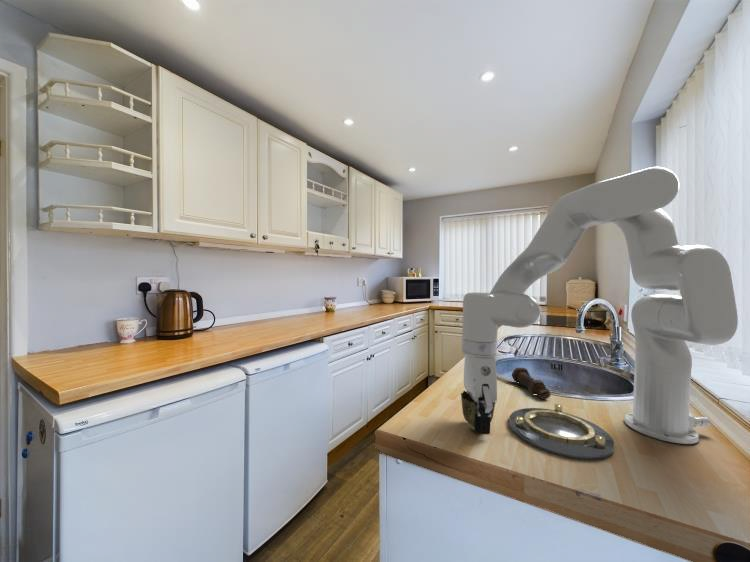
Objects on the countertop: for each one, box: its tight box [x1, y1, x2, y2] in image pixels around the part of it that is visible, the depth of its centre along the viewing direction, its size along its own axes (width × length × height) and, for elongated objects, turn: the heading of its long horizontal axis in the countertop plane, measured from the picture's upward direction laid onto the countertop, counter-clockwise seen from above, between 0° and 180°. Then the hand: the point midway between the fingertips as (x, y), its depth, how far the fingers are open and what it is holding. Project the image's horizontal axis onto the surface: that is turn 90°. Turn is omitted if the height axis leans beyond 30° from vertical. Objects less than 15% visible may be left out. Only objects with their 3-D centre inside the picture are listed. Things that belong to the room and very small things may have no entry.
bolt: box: [511, 367, 552, 400], centre depth 93 cm, size 6×5×15 cm
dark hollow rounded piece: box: [460, 390, 496, 433], centre depth 69 cm, size 8×7×8 cm
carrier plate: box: [508, 403, 615, 461], centre depth 68 cm, size 20×20×3 cm
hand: (476, 424), depth 69 cm, fingers closed on dark hollow rounded piece, 6 cm apart
